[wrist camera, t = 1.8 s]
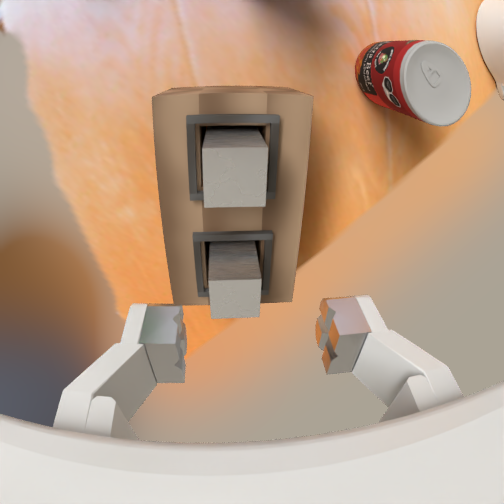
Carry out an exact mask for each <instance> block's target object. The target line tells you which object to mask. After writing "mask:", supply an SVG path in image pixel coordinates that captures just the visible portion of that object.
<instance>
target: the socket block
mask: <svg viewBox="0 0 504 504" xmlns="http://www.w3.org/2000/svg"><path fill="white" fill-rule="evenodd" d="M152 110H153V129H154V144H155V157H156V169H157V180H158V191H159V200H160V209H161V218H162V226H163V234H164V242H165V249H166V257H167V263H168V270H169V277H170V283H171V289H172V295H173V301H174V304H181V305H210V295H209V282H208V279H209V253H210V241H241V240H255V246H256V251H257V257H258V262H259V268H260V273H261V279H262V281H261V299H260V303H277V302H292V298H293V290H294V283H295V275H296V268H297V260H298V252H299V244H300V235H301V227H302V218H303V209H304V199H305V190H306V180H307V169H308V159H309V147H310V136H311V123H312V110H313V96H311V95H308V94H305V93H302V92H299V91H297V90H294V89H291V88H286V87H265V86H205V87H183V88H171V89H169V90H167V91H164V92H162V93H160V94H158V95H155V96H153V97H152ZM217 125H256V127H257V128H258V130H259V132H260V134H261V136H262V137H263V139H264V141H265V143H266V145H267V146H268V163H267V185H266V205H265V207H213V208H204V190H203V162H202V147H203V143H204V138H205V134H206V126H217Z"/></svg>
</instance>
